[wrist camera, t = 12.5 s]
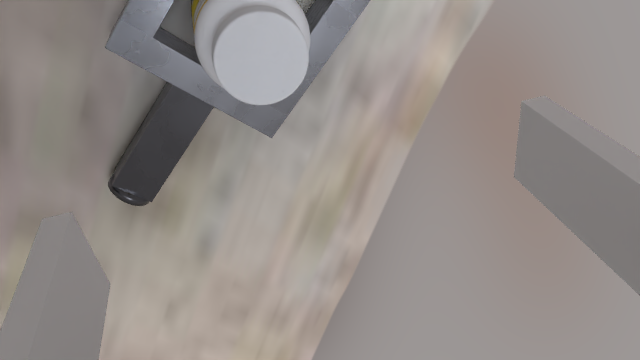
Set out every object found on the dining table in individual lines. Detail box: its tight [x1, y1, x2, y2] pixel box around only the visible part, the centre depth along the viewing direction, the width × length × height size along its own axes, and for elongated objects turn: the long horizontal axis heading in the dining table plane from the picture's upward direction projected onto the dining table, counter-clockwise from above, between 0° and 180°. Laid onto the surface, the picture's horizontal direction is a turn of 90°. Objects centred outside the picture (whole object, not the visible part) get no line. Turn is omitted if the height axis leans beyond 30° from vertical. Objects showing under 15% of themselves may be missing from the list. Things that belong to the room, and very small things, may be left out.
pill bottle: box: [191, 0, 310, 105], centre depth 29 cm, size 6×6×11 cm
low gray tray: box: [105, 0, 370, 206], centre depth 33 cm, size 22×12×3 cm, turn 143°
